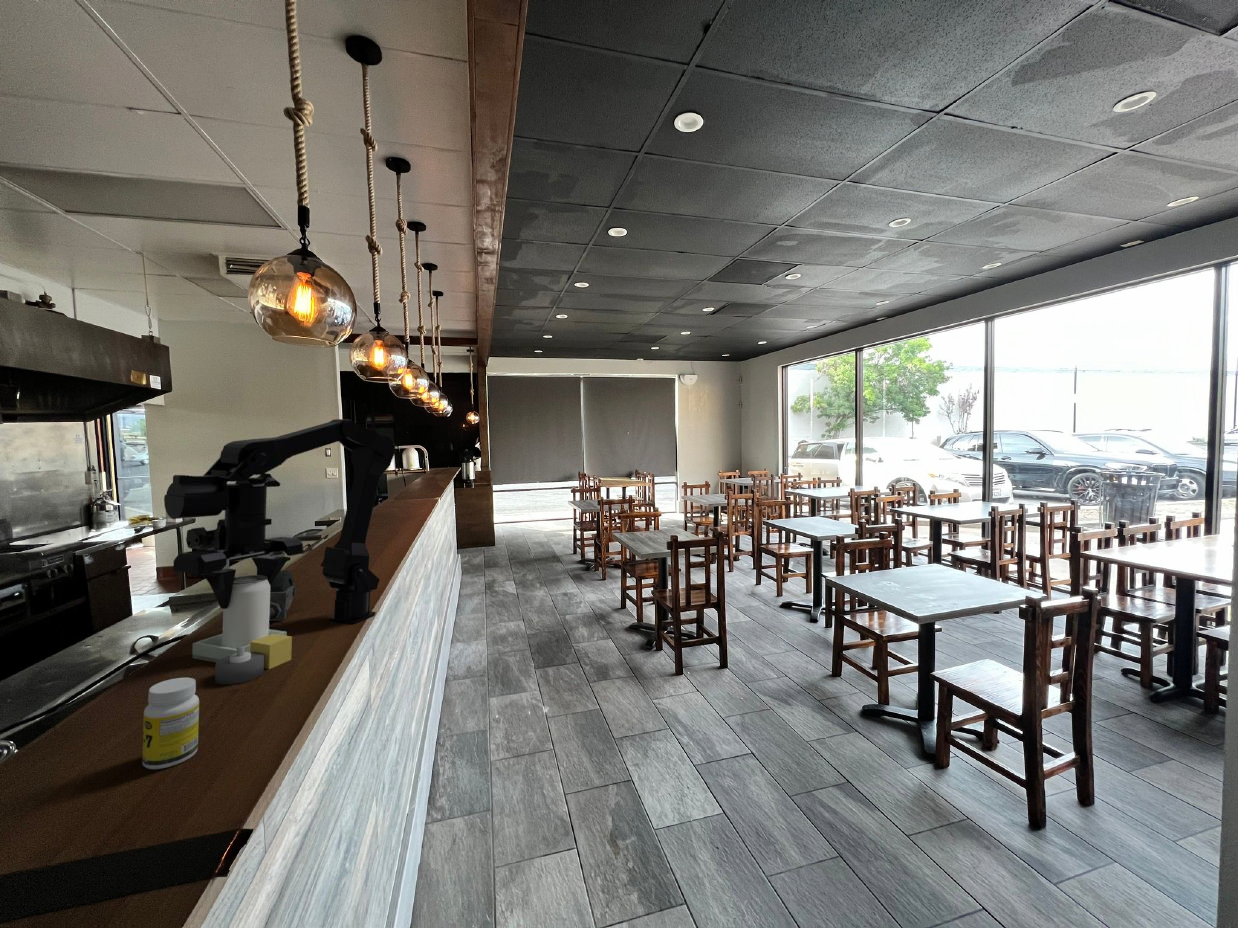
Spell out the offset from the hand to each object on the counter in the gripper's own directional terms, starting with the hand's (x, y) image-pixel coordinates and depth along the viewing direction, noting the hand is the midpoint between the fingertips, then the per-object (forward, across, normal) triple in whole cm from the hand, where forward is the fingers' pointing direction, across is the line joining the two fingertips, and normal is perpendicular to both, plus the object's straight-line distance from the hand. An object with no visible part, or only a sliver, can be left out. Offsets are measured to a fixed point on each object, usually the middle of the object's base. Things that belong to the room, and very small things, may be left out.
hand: (243, 602), depth 86 cm
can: (+8, 0, 0) cm, 8 cm away
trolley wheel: (+8, +7, +8) cm, 14 cm away
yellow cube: (+9, +2, +8) cm, 12 cm away
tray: (+8, 0, 0) cm, 9 cm away
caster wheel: (+9, -16, -11) cm, 21 cm away
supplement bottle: (+9, +25, +21) cm, 34 cm away
